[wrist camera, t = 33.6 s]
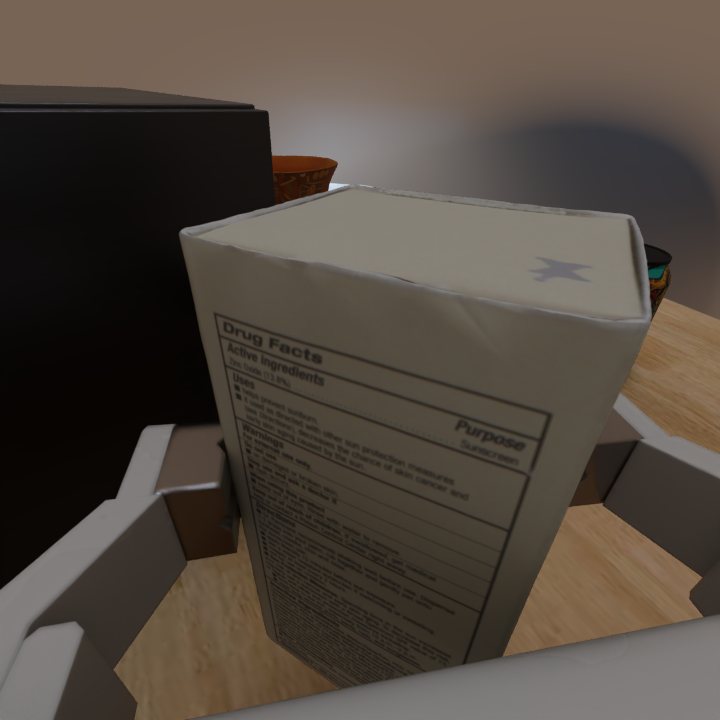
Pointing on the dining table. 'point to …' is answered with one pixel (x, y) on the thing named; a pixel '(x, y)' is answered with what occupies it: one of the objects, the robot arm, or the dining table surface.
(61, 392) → the cupboard door
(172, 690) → the dining table surface
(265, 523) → the white carton box
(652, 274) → the beverage can
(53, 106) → the cupboard
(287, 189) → the bowl
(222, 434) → the robot arm
